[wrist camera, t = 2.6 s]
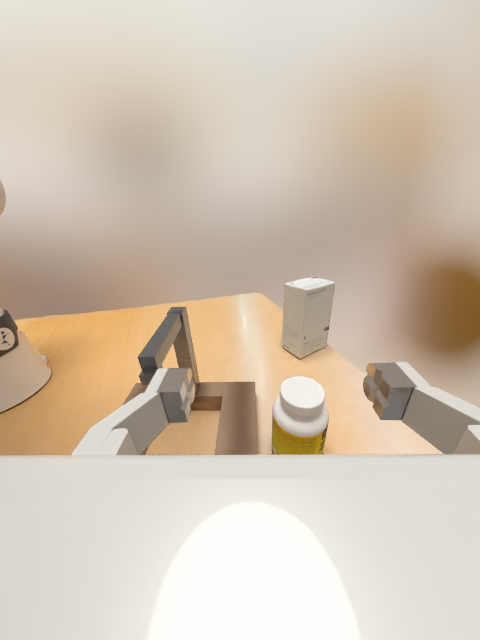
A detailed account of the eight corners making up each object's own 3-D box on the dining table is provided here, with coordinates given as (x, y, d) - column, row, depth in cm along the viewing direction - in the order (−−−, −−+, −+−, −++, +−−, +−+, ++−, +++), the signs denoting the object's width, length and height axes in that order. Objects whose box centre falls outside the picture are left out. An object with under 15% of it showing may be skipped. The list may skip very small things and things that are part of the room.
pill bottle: (326, 480, 26) (341, 415, 21) (273, 478, 27) (274, 414, 22) (315, 432, 32) (324, 371, 27) (270, 431, 32) (271, 371, 27)
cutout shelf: (100, 468, 29) (92, 453, 28) (140, 396, 40) (135, 383, 38) (257, 469, 28) (257, 454, 27) (255, 395, 39) (254, 381, 37)
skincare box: (299, 360, 46) (306, 291, 39) (280, 346, 51) (282, 282, 44) (327, 346, 50) (337, 281, 43) (306, 334, 55) (312, 274, 48)
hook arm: (169, 470, 28) (132, 361, 20) (190, 398, 39) (171, 307, 31) (185, 470, 28) (153, 361, 20) (202, 397, 39) (186, 306, 31)
